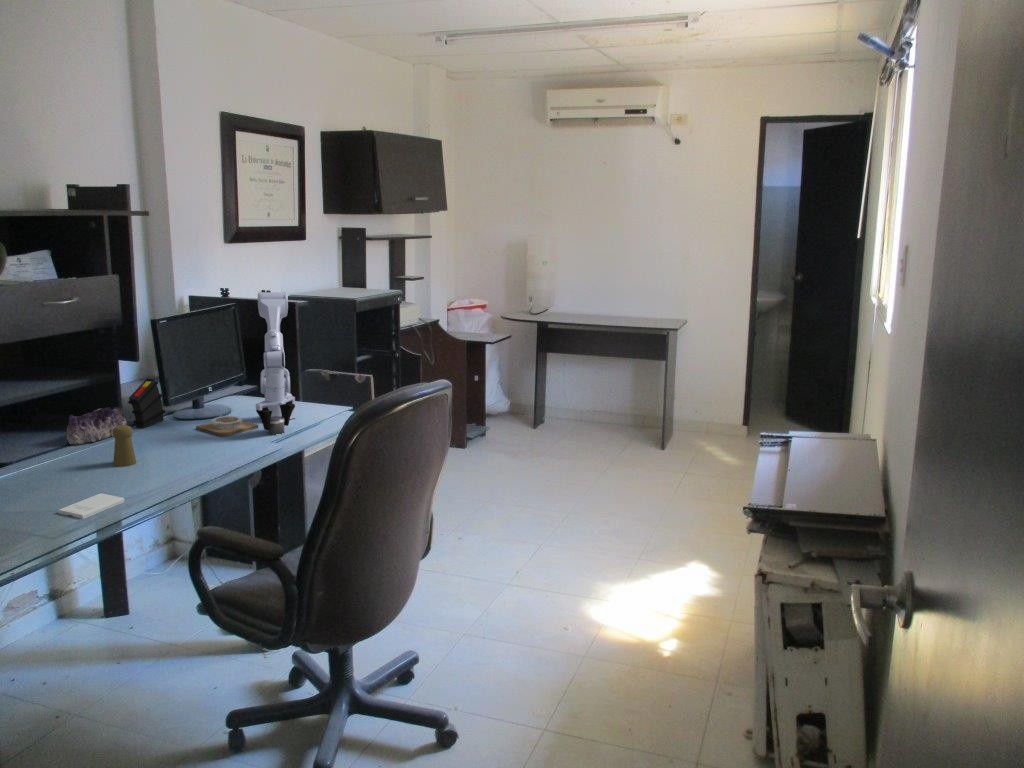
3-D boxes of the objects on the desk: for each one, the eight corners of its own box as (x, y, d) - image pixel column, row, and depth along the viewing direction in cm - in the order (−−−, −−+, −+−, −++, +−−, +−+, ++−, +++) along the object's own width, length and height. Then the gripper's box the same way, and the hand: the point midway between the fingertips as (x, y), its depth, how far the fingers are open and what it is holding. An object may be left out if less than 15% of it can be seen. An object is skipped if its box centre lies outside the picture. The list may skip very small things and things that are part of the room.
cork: (114, 460, 237) (111, 424, 235) (137, 459, 239) (134, 422, 237) (112, 467, 232) (109, 429, 229) (135, 465, 234) (133, 428, 231)
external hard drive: (124, 504, 207) (83, 521, 195) (100, 498, 210) (57, 515, 198) (124, 497, 206) (82, 514, 195) (99, 492, 209) (57, 508, 198)
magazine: (170, 413, 283) (156, 378, 273) (149, 438, 272) (133, 403, 263) (160, 412, 283) (146, 377, 274) (139, 437, 273) (123, 402, 264)
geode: (91, 448, 248) (83, 416, 246) (59, 449, 251) (51, 418, 249) (135, 428, 267) (129, 399, 265) (105, 430, 270) (99, 400, 268)
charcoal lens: (277, 430, 273) (277, 415, 272) (287, 432, 271) (287, 418, 270) (265, 433, 269) (264, 418, 268) (275, 436, 267) (275, 421, 265)
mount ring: (230, 420, 279) (229, 414, 279) (248, 425, 274) (247, 419, 274) (206, 425, 271) (205, 420, 271) (224, 431, 266) (224, 425, 266)
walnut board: (231, 420, 282) (231, 417, 282) (258, 427, 275) (258, 425, 275) (195, 429, 271) (195, 426, 271) (223, 436, 264) (222, 433, 263)
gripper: (265, 392, 259) (266, 434, 262) (300, 385, 270) (301, 425, 273) (250, 389, 262) (252, 430, 265) (286, 382, 274) (287, 421, 277)
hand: (276, 427), depth 270 cm, fingers open, 7 cm apart
